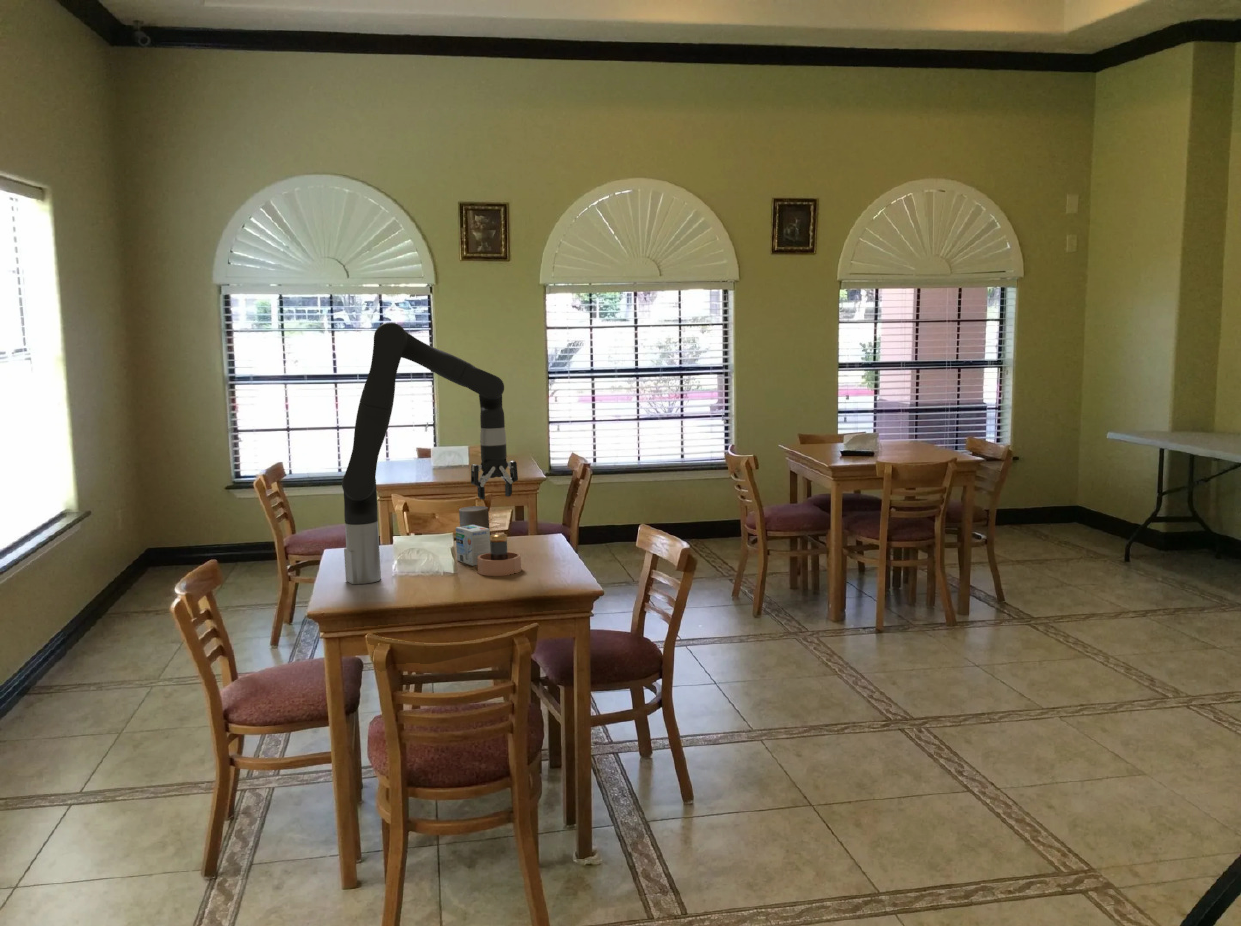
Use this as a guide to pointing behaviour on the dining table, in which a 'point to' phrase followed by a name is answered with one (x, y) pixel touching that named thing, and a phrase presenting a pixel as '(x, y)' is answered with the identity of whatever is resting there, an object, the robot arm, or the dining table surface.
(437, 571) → the dining table surface
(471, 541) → the light bulb box
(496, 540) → the black cell
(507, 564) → the pink round dish
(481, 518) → the pillar candle
